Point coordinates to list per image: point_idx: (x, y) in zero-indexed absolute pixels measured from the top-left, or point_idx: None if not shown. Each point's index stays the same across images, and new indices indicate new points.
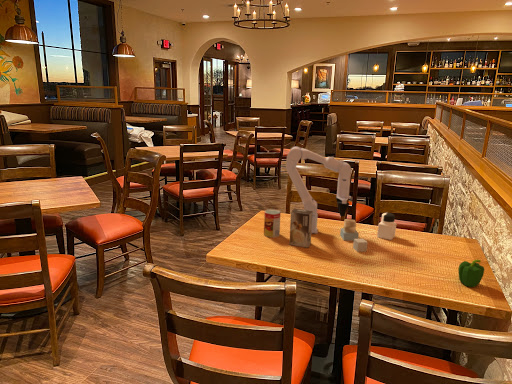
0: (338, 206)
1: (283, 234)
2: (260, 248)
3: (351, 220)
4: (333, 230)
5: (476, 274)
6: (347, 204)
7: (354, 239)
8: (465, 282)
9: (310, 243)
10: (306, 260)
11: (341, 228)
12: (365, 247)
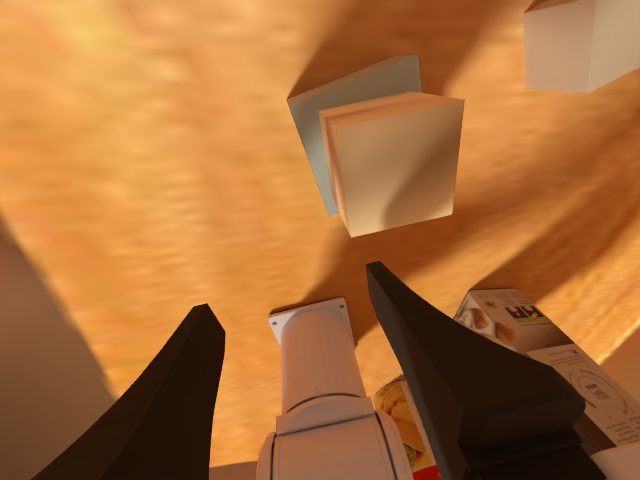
0: (213, 390)
1: (389, 375)
2: None
3: (375, 166)
4: (253, 241)
5: None
6: (572, 403)
7: (598, 87)
8: None
9: (482, 292)
10: (627, 265)
11: (333, 211)
12: None
